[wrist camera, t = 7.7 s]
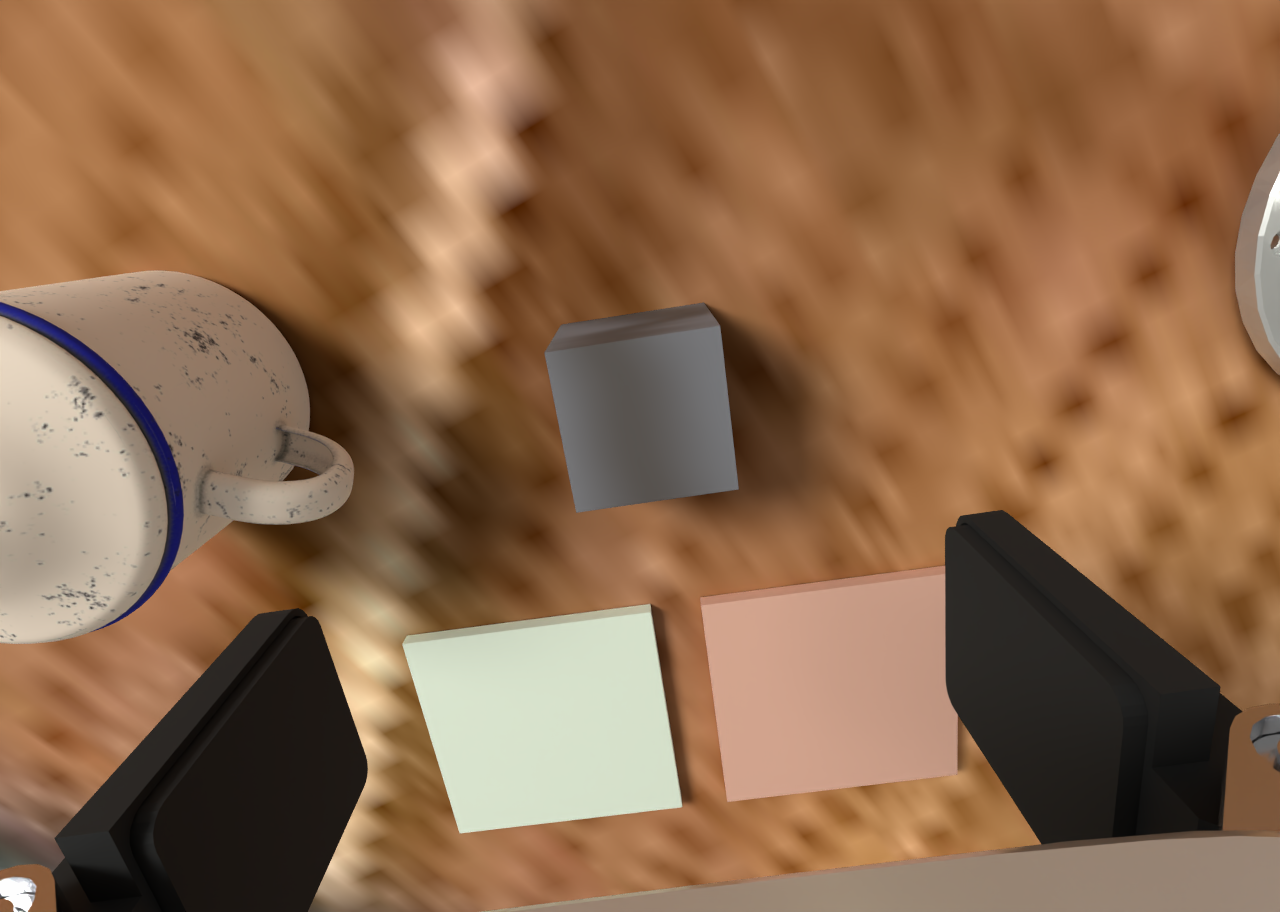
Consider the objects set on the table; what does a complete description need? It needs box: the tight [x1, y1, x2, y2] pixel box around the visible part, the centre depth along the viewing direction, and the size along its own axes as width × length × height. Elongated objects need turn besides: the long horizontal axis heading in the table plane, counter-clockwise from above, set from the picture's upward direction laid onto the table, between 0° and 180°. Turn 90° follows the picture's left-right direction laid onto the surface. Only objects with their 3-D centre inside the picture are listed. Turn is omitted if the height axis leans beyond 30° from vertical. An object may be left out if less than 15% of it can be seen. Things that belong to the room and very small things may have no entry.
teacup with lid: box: [0, 271, 354, 644], centre depth 20 cm, size 12×9×12 cm
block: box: [545, 303, 739, 513], centre depth 23 cm, size 5×5×5 cm
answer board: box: [402, 566, 958, 833], centre depth 30 cm, size 22×10×1 cm, turn 98°
